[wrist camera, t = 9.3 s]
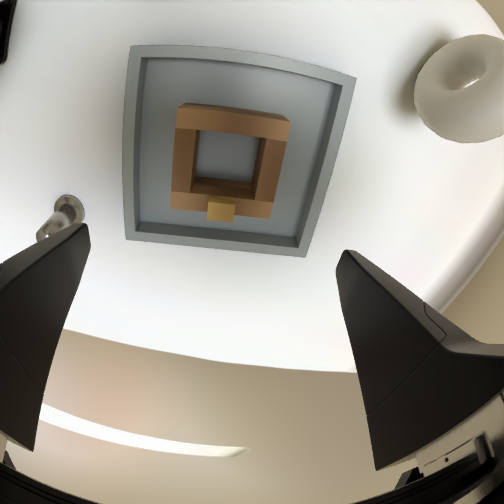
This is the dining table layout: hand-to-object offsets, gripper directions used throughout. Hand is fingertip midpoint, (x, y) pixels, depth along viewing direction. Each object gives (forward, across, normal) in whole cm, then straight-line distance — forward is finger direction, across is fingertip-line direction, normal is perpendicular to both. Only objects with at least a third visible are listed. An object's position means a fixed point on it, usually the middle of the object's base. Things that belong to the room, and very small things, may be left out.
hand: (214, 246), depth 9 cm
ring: (+11, 0, 0) cm, 11 cm away
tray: (+12, 0, 0) cm, 12 cm away
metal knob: (+12, +13, +6) cm, 18 cm away
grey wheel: (+12, -14, -10) cm, 21 cm away
